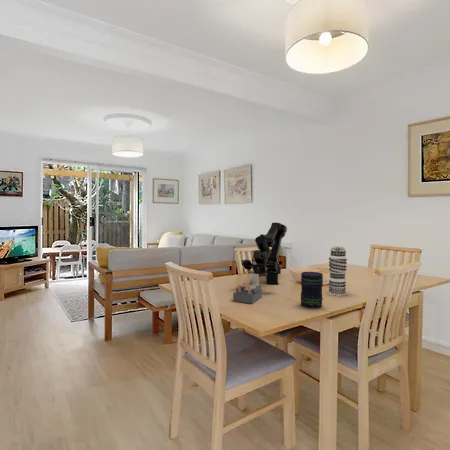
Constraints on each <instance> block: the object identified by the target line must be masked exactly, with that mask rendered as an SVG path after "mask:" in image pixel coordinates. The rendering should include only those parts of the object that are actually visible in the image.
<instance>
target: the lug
mask: <svg viewBox="0 0 450 450" xmlns="http://www.w3.org/2000/svg"><path fill="white" fill-rule="evenodd" d="M237 287H238V293H241V287H246V288H247V287H248V294H251V286H250V284H248V285H247V284H246V285H243V283H242V284H241V283H240V284H237Z"/></svg>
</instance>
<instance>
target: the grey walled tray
mask: <svg viewBox="0 0 450 450" xmlns="http://www.w3.org/2000/svg"><path fill="white" fill-rule="evenodd" d="M242 285H247V284H246V283H242ZM245 288H247V287H241V293H238V286H237V287H236V291H235V292H233V293H232V294H233V295H232V300H233V302H235V303H236V302H237V303H244V304H251V305H253V304H255V303H256V302H258V301H259V300H260V299H262V298H263V289H262V285H258V287H256V288H254V289H253V290H252V291H251V294H248V291H244V289H245Z"/></svg>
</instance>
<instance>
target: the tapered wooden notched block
mask: <svg viewBox="0 0 450 450" xmlns="http://www.w3.org/2000/svg"><path fill="white" fill-rule="evenodd" d="M259 278H260V277H259V274H255V272H254V273H253V272H252V273H251V272H250V273H249V285H250V286H251V291H252V290H253V289H254V288H256V287H258V286H259ZM244 291H248V287H246V288H245V289H244Z"/></svg>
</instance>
